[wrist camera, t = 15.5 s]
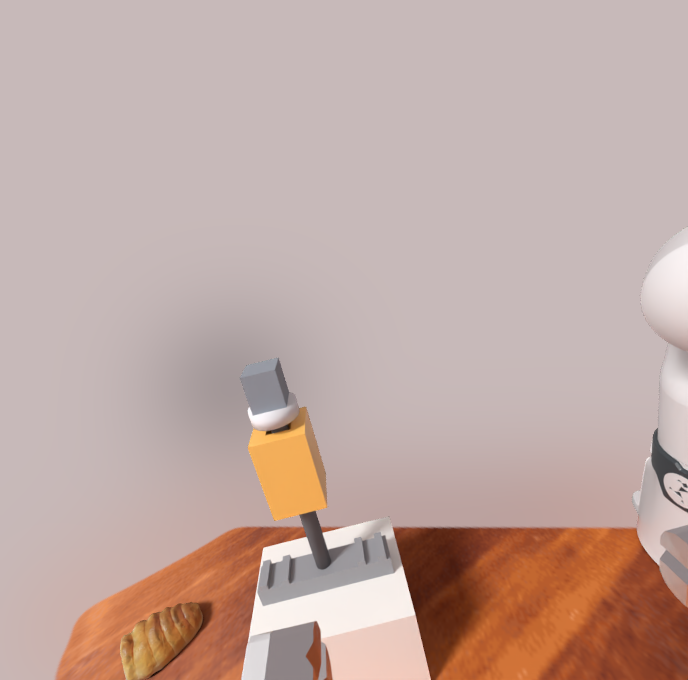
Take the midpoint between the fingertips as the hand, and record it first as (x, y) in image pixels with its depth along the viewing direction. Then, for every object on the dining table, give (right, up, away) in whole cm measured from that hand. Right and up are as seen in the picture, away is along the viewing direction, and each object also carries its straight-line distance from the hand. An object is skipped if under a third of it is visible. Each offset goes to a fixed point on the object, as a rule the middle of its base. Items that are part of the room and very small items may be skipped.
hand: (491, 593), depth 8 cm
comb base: (-3, -29, +33) cm, 44 cm away
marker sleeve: (-8, -9, +27) cm, 30 cm away
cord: (-5, -20, +30) cm, 37 cm away
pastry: (-27, -34, +38) cm, 57 cm away
